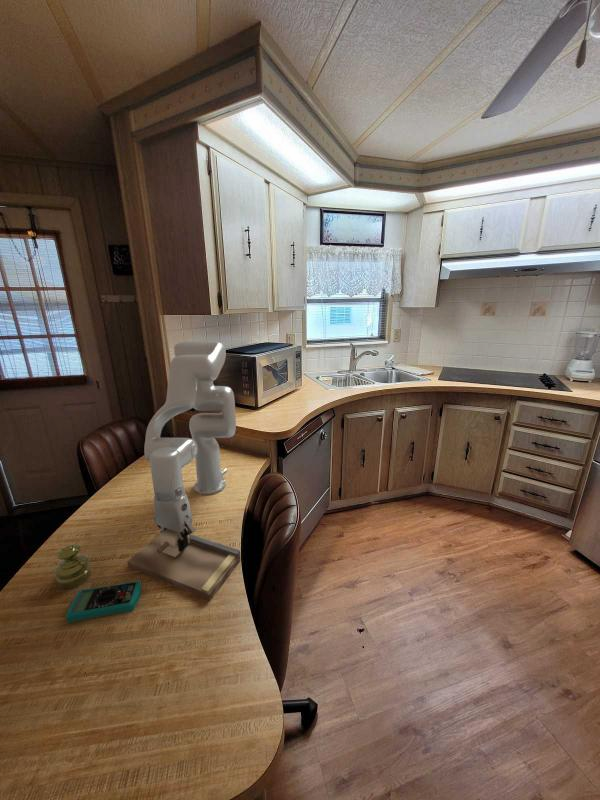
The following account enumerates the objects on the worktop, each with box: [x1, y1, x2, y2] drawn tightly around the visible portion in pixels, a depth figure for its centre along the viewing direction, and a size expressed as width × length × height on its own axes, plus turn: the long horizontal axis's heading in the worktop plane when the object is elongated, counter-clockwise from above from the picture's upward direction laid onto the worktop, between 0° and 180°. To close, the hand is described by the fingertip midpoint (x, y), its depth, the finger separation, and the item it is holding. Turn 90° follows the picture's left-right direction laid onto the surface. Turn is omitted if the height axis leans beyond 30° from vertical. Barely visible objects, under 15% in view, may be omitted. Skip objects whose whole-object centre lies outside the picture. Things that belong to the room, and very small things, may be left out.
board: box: [126, 533, 242, 601], centre depth 87 cm, size 14×28×4 cm, turn 68°
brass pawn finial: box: [54, 543, 92, 590], centre depth 81 cm, size 7×7×10 cm
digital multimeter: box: [65, 580, 142, 624], centre depth 75 cm, size 7×15×3 cm, turn 103°
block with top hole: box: [157, 529, 190, 557], centre depth 88 cm, size 9×5×6 cm, turn 158°
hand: (176, 544), depth 90 cm, fingers closed on block with top hole, 5 cm apart
